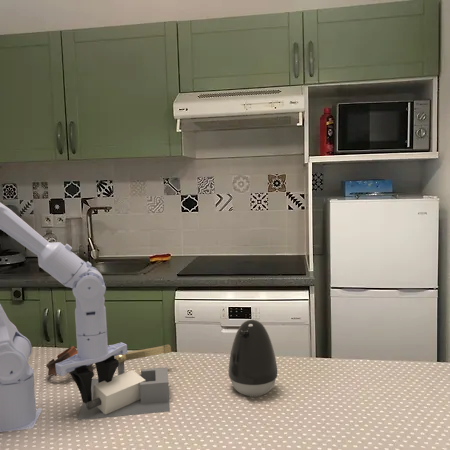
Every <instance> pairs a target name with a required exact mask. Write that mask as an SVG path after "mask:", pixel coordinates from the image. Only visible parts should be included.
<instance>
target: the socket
mask: <svg viewBox="0 0 450 450" xmlns="http://www.w3.org/2000/svg"><path fill="white" fill-rule="evenodd" d="M168 372H169V371H168V367H167V366H165V367H152V368H141V369H140V374H139V375H140V376H141V377H142V378H144V379H145V380H146V382H140V391H141V399H140V400H137V401H135V402H133V403H131V404H129V405H126V406H124V407H122V408H120V409H117V410H115V411H113V412H110V413H108V414H106V415H105V414H104V413H103V412H102V411H101V410H100V409H99V408H98V407H95V408H92V409H90V410H88V409H87V407H86V404H85V403H84V402H83V401H82V404H81V407H80V411H79V414H78V417H77V421H83V420H84V421H86V420H95V419H104V418H106V419H107V418H114V417H115V418H116V417H126V416H136V415H137V416H138V415H148V414H156V413H167V412H171V410H170V408H171V406H170V389H169V383H170V382H169V373H168ZM123 373H126V371H125V362H121V363H118V367H117V376H118V375H120V374H123ZM97 383H98V377H97V378H92V384H91V393H92V400H93V388H94V384H97Z"/></svg>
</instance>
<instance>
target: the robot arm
mask: <svg viewBox="0 0 450 450" xmlns="http://www.w3.org/2000/svg"><path fill="white" fill-rule="evenodd" d="M0 230H1V231H3V233H6V235H8V236H10V237H11V239H14V240H15V241H16V242H17V243H19V244H21V245H22V246H23V247H24V248H26V249H27V250H29V251H30V252H31V253H33V254H34V255H36V256H37V262H38V263H37V264H38V266H39V268H41V269H42V270H43V271H44V272H46V273H48V274H49V275H50V276H52V278H54V279H55V280H56V281H58V282H59V283H60V284H61V285H63V286H64V287H66V288H71V289H72V295H73V297H74V298H75V309H74V318H75V334H76V335H75V339H76V350H77V354H75V355H73V356H72V357H70V358H68V359H66V360H64V361H62V362H59V363H56V364H55V365H56V374H57V375H58V376H60V377H64V376H66V375H67V374H68V373H69V374H70V376H71V378H72V379H73V381H74V382H75V385H76V386H77V388H78V391H79V394H80V397H81V400H82V403H83V402H84V403H85V404H86V403H87V402H89V401H92V393H91V384H92V379H93V378H94V376H93V373H94V371H93V372H91V371H89V370H88V368H87V366H88V365H91V364H94V365H95V368H96V374H97V378H98V383H100V382H102V381H106V382H107V383H108V382H110V381H112V378H113V377H114V374H115V373H116V370H118V360H117V359H115V356H117V355H120V354H122V355H124V354H127V352H128V345H127V344H126V343H124V342H118V343H115V344H109V345H108V341H109V340H108V328H107V327H108V325H107V307H106V306H105V301H106V300H105V299H106V298H105V296H104V295H105V293H106V290H107V286H106V283H105V280H104V276H103V275H102V273H101V272H100V271H99V270H98V268H96V267H94V266H92V265H93V264H92V263H91V262H89V261H85V260H84V259H82V258H80V257H79V256H78V255H77V254H76V253H75V252H73V251H72V250H73V247H72V246H71V245H70V244H68V243H65V245H64V243H62V242H61V241H59V242H58V241H57V242H56V241H55V242H49V241H48V240H47V239H46V238H45V237H43V236H42V235H41V234H40V233H38V231H36V230H35V229H34V228H32V226H30V225H29V224H28V223H27V222H26V221H24V219H22V218H21V217H20V216H19V215H17V214H16V213H15V212H14V211H13V210H12V209H11V208H9V207H8V206H6V205H5V204H3V203H2V202H0ZM32 348H33V347H32V343H31V341H30V339H28V338H27V336H24V335H23V334H22V333H21V332H20V331H19V330H18V328H17V326H16V325H15V324H14V323H13V322H12V321H10V319H9V317H8V316H7V314H6V312H5V310H4V308H3V305H2V304H1V303H0V433H1V432H14V431H24V430H31V429H33V428H34V426H35V424H36V423H37V421H38V418H39V416H40V415H41V413H42V411H43V408H42V407H41V408H40V407H39V408H36V392H35V391H36V390H35V389H36V388H35V376H34V375H35V374H34V369H33V367H31V365H30V363H29V359H30V357H31V355H32V351H33V349H32Z"/></svg>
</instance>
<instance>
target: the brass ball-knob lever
mask: <svg viewBox="0 0 450 450" xmlns="http://www.w3.org/2000/svg"><path fill="white" fill-rule="evenodd" d="M171 353H172V346H171V345H170V344H165V345H164V344H163V345H159V346H156V347H155V346H154V347H150V348H145V349H138V350H132V351H127V354H124V355H122V354H120V355H117V356H115V359H117V360H118V363H121V362H124V363H125V362H127V361H130V360H136V359H141V358H146V357H152V356H156V355H164V354H165V355H166V354H171Z"/></svg>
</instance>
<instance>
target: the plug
mask: <svg viewBox="0 0 450 450" xmlns="http://www.w3.org/2000/svg"><path fill="white" fill-rule="evenodd" d="M140 375H141V374H139V373H137V372H136V371H135V370H133V369H132V370H129V371H125V373H123V374H120V375H118V374H117V375H115V376H113V378H112V381H110V382H108V383H107V382H106V381H102V382H100V383H97V384H94V388H93V400H92V401H89V402H87V403H86V407H87V409H88V410H90V409H92V408H95V407H98V408H99V409H100V410H101V411H102V412H103V413H104V414H105V415H106V414H108V413H110V412H113V411H115V410H117V409H120V408H122V407H124V406H126V405H129V404H131V403H133V402H135V401H137V400H140V399H141V391H140V382H146V380H145V379H144V378H142V377H141V376H140Z"/></svg>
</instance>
